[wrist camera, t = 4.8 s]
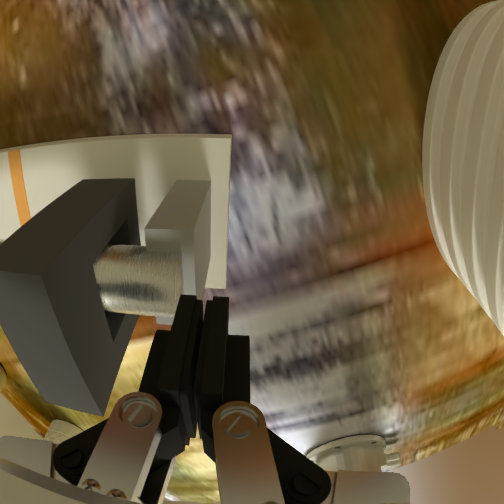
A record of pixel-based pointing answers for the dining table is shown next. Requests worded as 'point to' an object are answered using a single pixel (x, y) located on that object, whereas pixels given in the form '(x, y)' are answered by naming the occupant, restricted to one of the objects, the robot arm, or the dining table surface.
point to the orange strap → (19, 186)
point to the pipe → (139, 280)
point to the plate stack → (469, 156)
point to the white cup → (61, 431)
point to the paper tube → (2, 378)
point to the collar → (69, 293)
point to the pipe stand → (142, 192)
